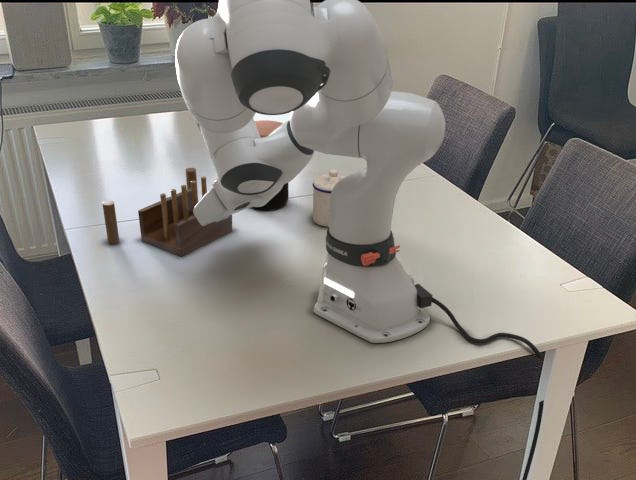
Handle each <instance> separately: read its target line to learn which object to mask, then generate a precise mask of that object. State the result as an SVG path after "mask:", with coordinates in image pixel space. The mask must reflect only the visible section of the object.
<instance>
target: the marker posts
mask: <svg viewBox="0 0 636 480" xmlns="http://www.w3.org/2000/svg"><path fill="white" fill-rule="evenodd" d="M191 181H196V184H197V185H198V177H197V168H195V167H187V168H185V182H186V188H187V189H190V188H192V187H191ZM198 191H199V190H198V189H197V198H198V199H199V192H198ZM101 204H102V210H103V219H104V224H105V231H106V237H107V244H109V245H111V246H113V245H114V246H115V245H117V244H120V235H119V227H118V221H117V214H116V213H117V212H116V206H115V202H114V201H113V200H104V201H103V202H102V203H101Z"/></svg>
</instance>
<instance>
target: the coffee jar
mask: <svg viewBox="0 0 636 480" xmlns="http://www.w3.org/2000/svg"><path fill="white" fill-rule="evenodd" d="M254 121H255V124H256V127H257V129H258V132H259V134H260V137H261V138H263V137H267V136H268V135H269V134H270V133H272V132H273V131H274V130H275V129H276V128H278V127H279V126H280V125H282V124H283V123H284V122H280V121H277V120H267V119H266V120H254ZM288 201H289V182H288V183H286V184H284V185H283V187H282V189H281V190H280V191H279V192H278V193H277V194H276V195H275V196H274V197H273V198H272V199H271V200H270V201H269V202H267V203H266V204H265V205H264V206H261V207H250V208H251V209H254V210H257V211H274V210H279V209H281V208H283V207H285V205H286V204H287V203H288Z"/></svg>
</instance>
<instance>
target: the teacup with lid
mask: <svg viewBox="0 0 636 480" xmlns="http://www.w3.org/2000/svg"><path fill="white" fill-rule="evenodd" d="M344 177H346V176H345V175H342V174H340V173H339V171H338V169H330V170H329V171H328V173H326V174H323V175H319V176H316V177H315V178H314V179H313V181H312V188H313V190H312V191H313V194H312V195H313V196H312V197H313V200H312V220H313V222H314V223H316V224H317V225H319V226H322V227H324V228H328V227H329V220H330V195H331V192H332V189H333V187H334V186H335V184H336V183H337V182H338V181H339V180H341V179H342V178H344Z"/></svg>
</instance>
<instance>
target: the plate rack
mask: <svg viewBox="0 0 636 480" xmlns="http://www.w3.org/2000/svg"><path fill="white" fill-rule="evenodd" d="M200 185H201V199H202V198H203V196H204V195H205V194H206V193H207V192H208V188H207V187H208V186H207V177H206V176H201V177H200ZM191 187H192V188H190V189H187V184H181V185H180V189H181V191H180V192H178V193H177V189H175V188H172V189H170V196H168V197H167V195H166V193H160V194H159V199H160V200H159V201H156V202H154V203H152V204H150V205H147V206H144V207H143V208H140V209H138V210H137V215H138V222H139V230H140V231H139V232H140V239H141V241H142V242H145V243H147V244H149V245H152V246H155V247H156V248H159V249H161V250H164V251H166V252H169V253H172V254H174V255H176V256H179V257H183V256H186V255H188V254H190V253H192V252H193V251H196V250H198V249H199V248H201V247H204V246H205V245H207V244H210V243H211V242H213V241H216V240H217V239H219V238H221V237H223V236H226V235H227V234H229V233H231V232H233V214H232V215H230V216H229V217H228V218H226V219H224V220H221V221H219V222H212V223H210V224H207V225H205V226H202V225H201V224H200V223H199V222H198V220H197V219H196V217H195V215H194V212H193V209H194V207H195V206H196V205H197V204H198V202H199V197H198V198H197V190H198V183H197V184H196V181H191Z"/></svg>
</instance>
